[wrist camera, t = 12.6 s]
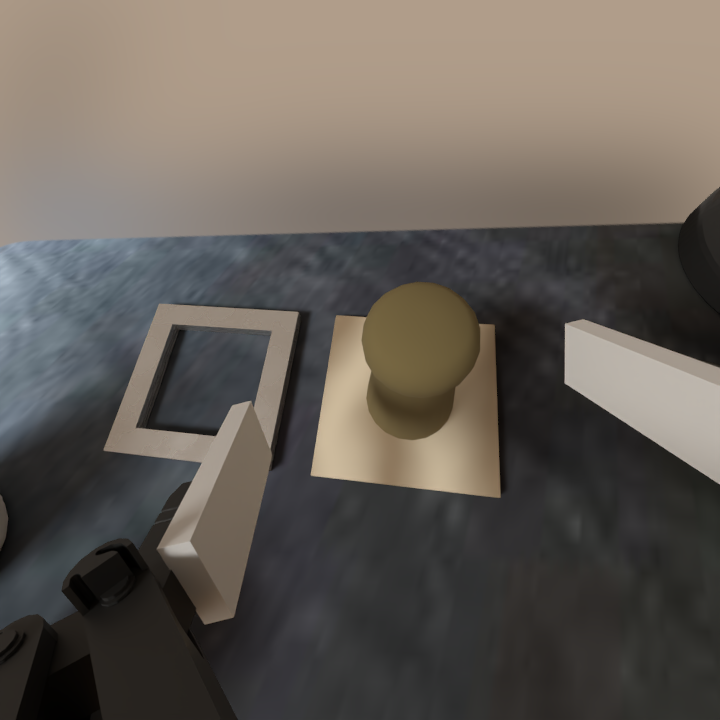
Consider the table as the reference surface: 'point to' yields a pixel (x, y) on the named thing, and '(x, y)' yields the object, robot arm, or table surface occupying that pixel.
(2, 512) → the supplement can
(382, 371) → the cork
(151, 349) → the shaker dock
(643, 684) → the table surface
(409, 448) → the birch board
